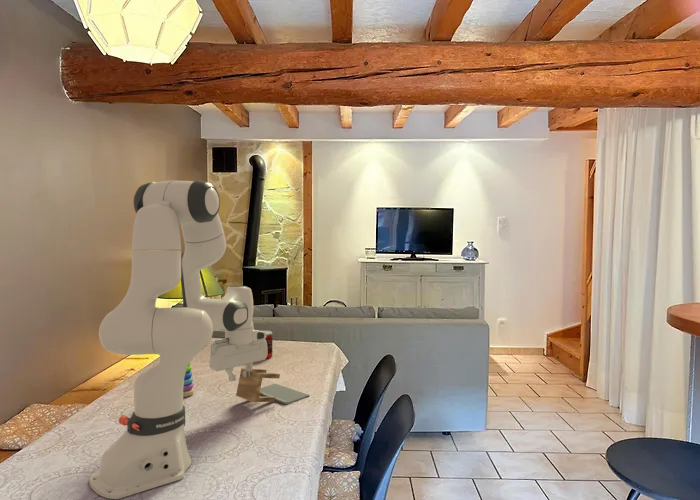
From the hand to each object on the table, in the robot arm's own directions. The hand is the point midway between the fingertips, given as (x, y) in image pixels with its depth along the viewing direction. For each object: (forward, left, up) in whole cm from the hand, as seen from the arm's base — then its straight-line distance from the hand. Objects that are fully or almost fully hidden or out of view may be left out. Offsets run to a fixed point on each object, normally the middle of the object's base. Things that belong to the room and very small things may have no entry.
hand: (239, 378), depth 160 cm
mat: (+17, 0, -9) cm, 19 cm away
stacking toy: (-6, +25, -10) cm, 27 cm away
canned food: (+42, +41, -10) cm, 59 cm away
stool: (+6, 0, -8) cm, 10 cm away
